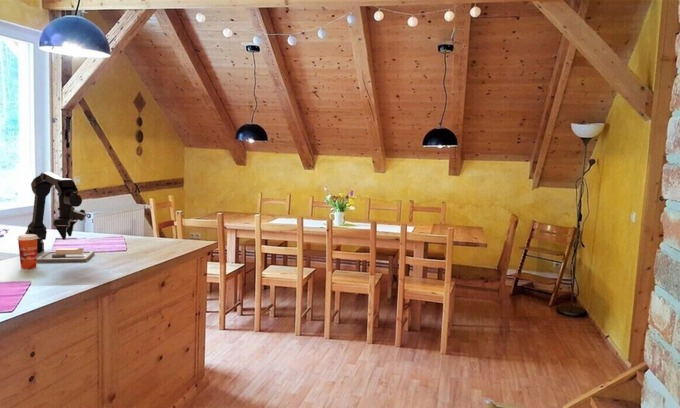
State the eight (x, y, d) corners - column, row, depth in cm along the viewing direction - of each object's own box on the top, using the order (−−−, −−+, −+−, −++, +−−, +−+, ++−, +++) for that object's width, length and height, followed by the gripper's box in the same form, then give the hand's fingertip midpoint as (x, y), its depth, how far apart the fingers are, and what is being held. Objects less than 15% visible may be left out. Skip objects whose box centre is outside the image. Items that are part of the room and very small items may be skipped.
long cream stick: (50, 257, 247) (49, 249, 246) (54, 254, 252) (53, 247, 252) (81, 257, 250) (81, 249, 249) (84, 254, 256) (84, 247, 255)
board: (35, 262, 242) (35, 258, 242) (47, 254, 258) (47, 250, 258) (85, 261, 247) (85, 257, 247) (94, 254, 263) (94, 250, 263)
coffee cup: (19, 270, 227) (18, 237, 226) (17, 266, 234) (15, 234, 232) (40, 268, 233) (39, 236, 231) (37, 264, 239) (36, 233, 237)
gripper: (79, 207, 232) (80, 240, 233) (89, 203, 250) (90, 234, 251) (52, 207, 229) (53, 241, 231) (64, 203, 247) (65, 234, 249)
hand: (67, 237), depth 240 cm, fingers open, 9 cm apart
